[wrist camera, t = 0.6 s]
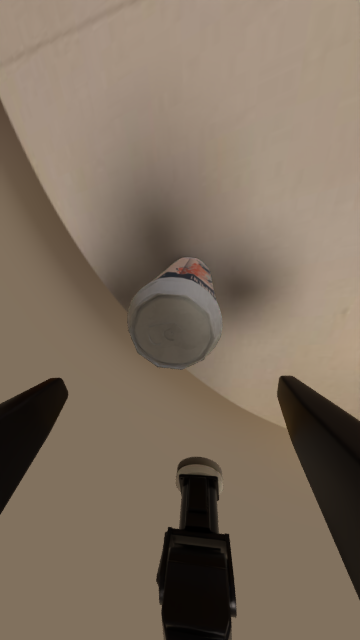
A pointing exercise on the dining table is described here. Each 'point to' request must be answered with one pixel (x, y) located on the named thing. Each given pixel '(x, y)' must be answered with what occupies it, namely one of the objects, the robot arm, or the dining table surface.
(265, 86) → the dining table surface
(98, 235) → the dining table surface
